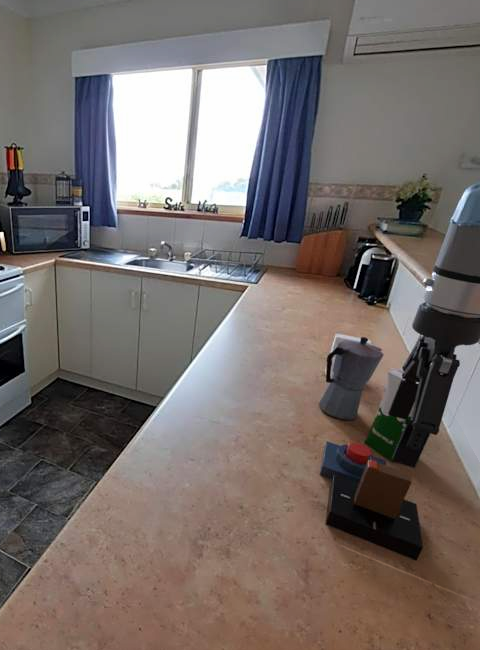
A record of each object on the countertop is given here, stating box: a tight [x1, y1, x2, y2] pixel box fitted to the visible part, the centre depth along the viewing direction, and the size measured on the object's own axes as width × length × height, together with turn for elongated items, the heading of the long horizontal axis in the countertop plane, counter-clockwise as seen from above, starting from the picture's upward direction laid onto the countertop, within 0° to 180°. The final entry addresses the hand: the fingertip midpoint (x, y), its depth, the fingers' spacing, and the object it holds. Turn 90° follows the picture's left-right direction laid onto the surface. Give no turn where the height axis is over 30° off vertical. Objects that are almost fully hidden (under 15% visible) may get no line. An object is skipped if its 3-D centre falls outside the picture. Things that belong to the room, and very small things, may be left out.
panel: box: [325, 475, 424, 561], centre depth 67 cm, size 13×10×3 cm
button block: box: [319, 440, 387, 484], centre depth 78 cm, size 11×9×4 cm
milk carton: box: [364, 368, 419, 464], centre depth 82 cm, size 9×9×20 cm
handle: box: [354, 460, 413, 519], centre depth 65 cm, size 6×2×8 cm, turn 61°
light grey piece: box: [324, 333, 372, 379], centre depth 114 cm, size 9×9×12 cm
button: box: [346, 442, 372, 464], centre depth 77 cm, size 4×4×2 cm
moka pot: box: [318, 336, 384, 421], centre depth 95 cm, size 10×15×20 cm, turn 112°
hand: (399, 437), depth 62 cm, fingers open, 13 cm apart
